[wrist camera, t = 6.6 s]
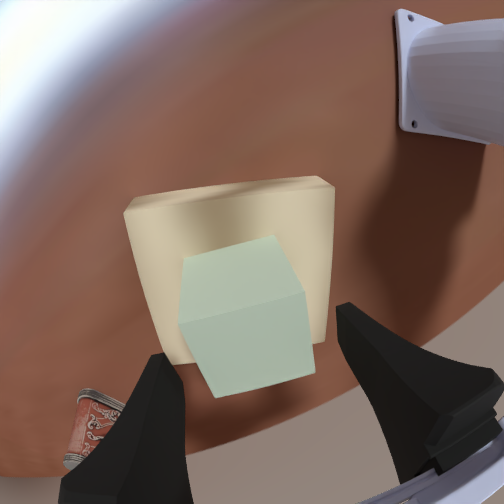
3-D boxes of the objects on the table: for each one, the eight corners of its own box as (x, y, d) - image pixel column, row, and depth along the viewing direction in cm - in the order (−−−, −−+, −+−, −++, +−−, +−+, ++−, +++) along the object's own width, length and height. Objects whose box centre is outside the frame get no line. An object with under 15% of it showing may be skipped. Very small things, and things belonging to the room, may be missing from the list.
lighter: (161, 423, 24) (162, 517, 16) (141, 433, 25) (139, 520, 16) (89, 383, 21) (68, 487, 12) (73, 396, 21) (52, 491, 13)
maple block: (313, 173, 17) (334, 187, 14) (310, 313, 21) (324, 341, 19) (136, 194, 16) (123, 213, 13) (171, 333, 20) (168, 365, 18)
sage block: (274, 234, 15) (305, 291, 10) (288, 307, 17) (315, 372, 12) (183, 258, 15) (177, 324, 10) (209, 327, 17) (215, 398, 12)
